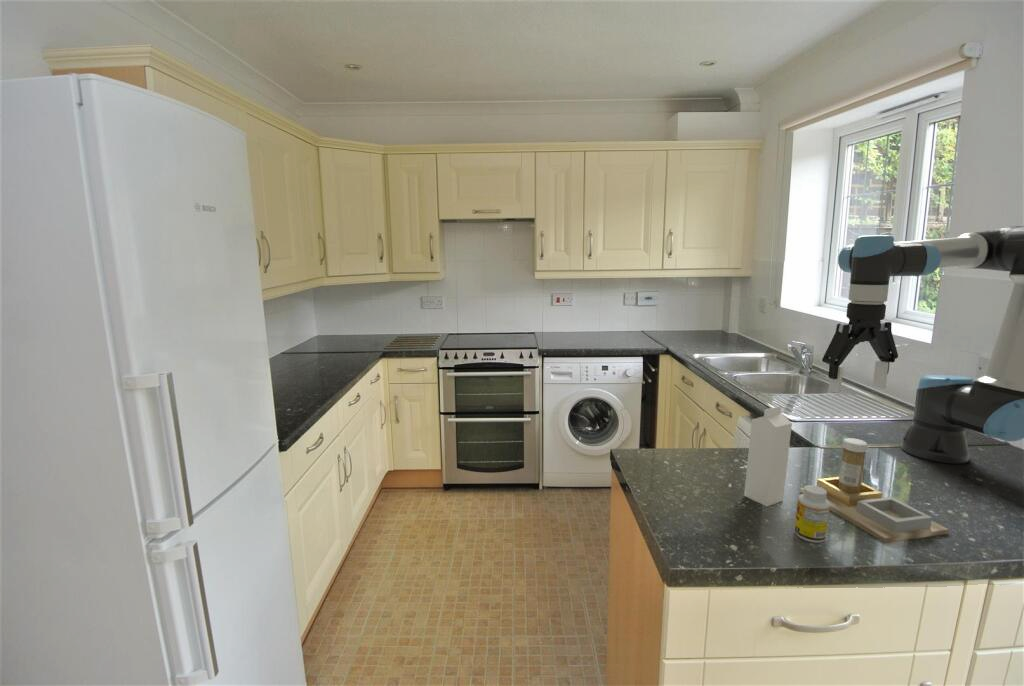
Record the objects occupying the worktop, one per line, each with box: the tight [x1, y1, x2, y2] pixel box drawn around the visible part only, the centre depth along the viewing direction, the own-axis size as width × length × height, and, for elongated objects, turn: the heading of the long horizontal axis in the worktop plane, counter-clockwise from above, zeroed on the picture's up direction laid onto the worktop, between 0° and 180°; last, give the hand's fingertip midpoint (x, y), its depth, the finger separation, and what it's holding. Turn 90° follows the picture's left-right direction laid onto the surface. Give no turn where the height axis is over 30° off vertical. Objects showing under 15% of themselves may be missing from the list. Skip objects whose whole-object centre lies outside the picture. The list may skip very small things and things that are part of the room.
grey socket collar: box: [856, 496, 933, 533], centre depth 108 cm, size 9×9×2 cm
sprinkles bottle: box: [838, 437, 868, 494], centre depth 117 cm, size 5×5×13 cm
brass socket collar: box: [816, 476, 884, 507], centre depth 118 cm, size 9×9×2 cm
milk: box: [743, 405, 793, 507], centre depth 117 cm, size 6×6×22 cm
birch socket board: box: [799, 487, 950, 543], centre depth 113 cm, size 16×22×1 cm
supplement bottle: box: [794, 484, 831, 544], centre depth 102 cm, size 6×6×10 cm
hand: (856, 389), depth 124 cm, fingers open, 13 cm apart
